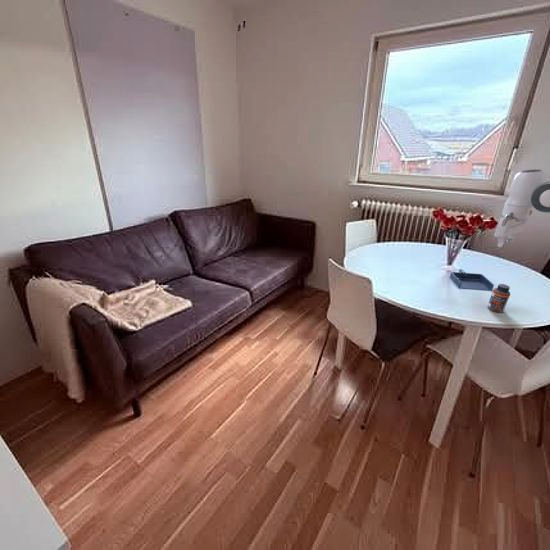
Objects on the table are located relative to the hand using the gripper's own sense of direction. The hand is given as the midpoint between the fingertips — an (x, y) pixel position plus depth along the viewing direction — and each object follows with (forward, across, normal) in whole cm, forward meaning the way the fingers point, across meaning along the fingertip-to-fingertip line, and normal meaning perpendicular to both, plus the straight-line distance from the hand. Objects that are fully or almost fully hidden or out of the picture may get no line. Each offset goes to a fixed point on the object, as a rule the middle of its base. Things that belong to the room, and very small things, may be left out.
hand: (504, 244), depth 130 cm
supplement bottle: (+26, -7, -6) cm, 28 cm away
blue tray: (+26, +13, +14) cm, 32 cm away
